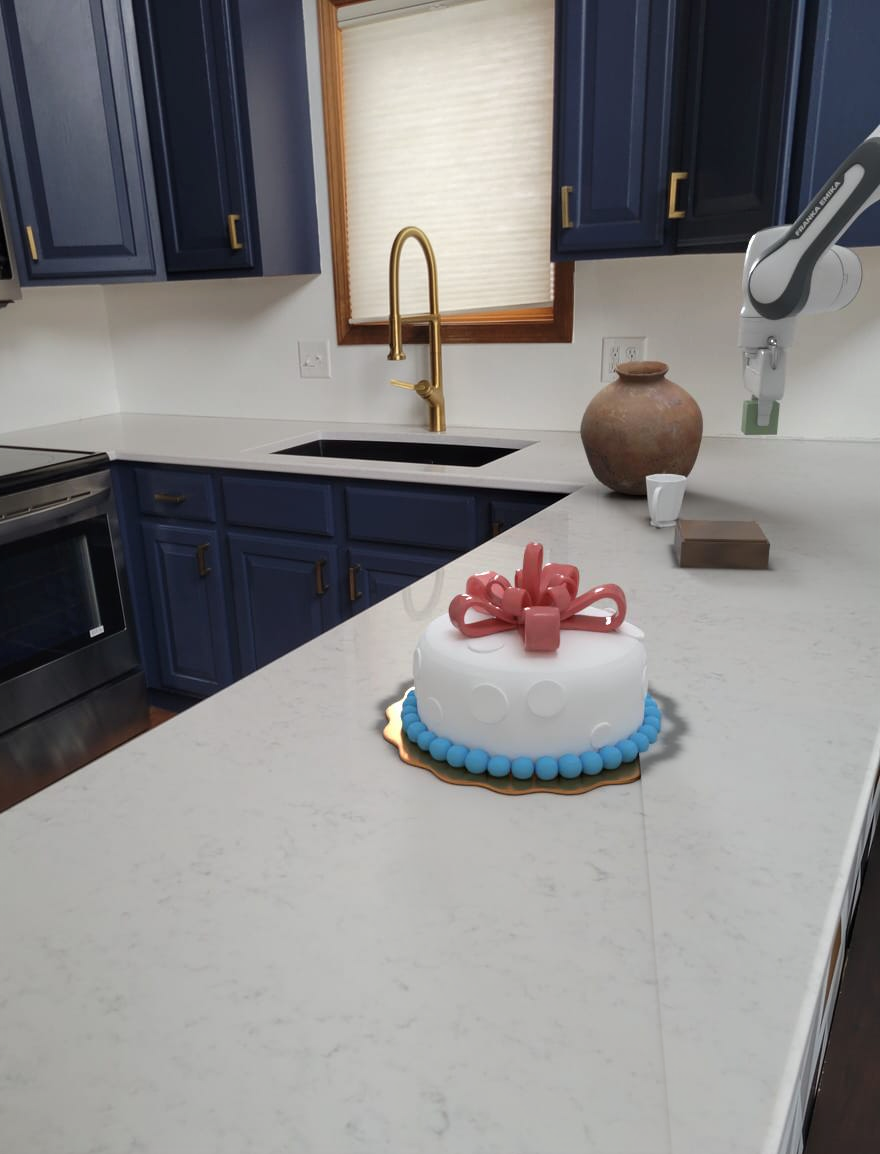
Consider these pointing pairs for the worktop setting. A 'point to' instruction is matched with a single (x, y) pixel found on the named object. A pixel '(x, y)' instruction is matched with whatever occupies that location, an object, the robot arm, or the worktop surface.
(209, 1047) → the worktop surface
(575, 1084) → the worktop surface
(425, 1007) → the worktop surface
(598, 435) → the pottery
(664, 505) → the cup
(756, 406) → the block
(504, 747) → the wedding cake
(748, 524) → the block
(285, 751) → the worktop surface
